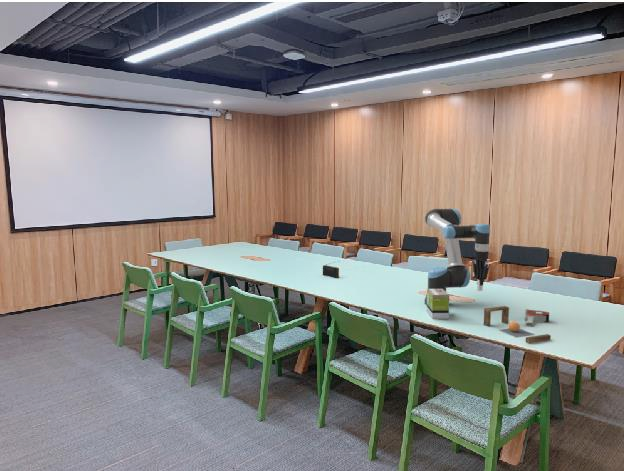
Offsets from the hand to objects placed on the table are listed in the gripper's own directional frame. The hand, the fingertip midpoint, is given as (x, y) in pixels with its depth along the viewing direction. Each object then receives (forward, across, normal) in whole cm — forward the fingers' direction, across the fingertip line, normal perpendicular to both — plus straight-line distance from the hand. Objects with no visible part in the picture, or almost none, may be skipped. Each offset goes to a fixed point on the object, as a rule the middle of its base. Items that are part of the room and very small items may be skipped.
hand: (479, 290), depth 260 cm
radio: (+17, -134, -39) cm, 140 cm away
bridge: (+16, +14, 0) cm, 21 cm away
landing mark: (+16, +29, 0) cm, 33 cm away
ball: (+13, +28, -1) cm, 31 cm away
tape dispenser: (+16, +18, +23) cm, 34 cm away
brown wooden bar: (+15, +43, 0) cm, 46 cm away
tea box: (+16, -11, -21) cm, 29 cm away
